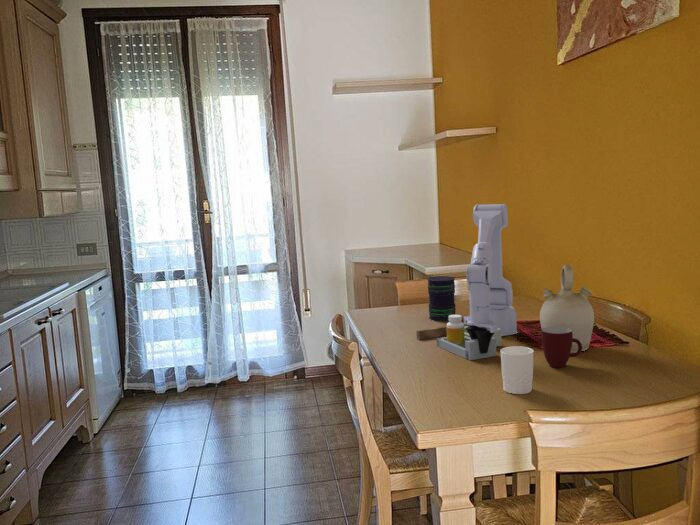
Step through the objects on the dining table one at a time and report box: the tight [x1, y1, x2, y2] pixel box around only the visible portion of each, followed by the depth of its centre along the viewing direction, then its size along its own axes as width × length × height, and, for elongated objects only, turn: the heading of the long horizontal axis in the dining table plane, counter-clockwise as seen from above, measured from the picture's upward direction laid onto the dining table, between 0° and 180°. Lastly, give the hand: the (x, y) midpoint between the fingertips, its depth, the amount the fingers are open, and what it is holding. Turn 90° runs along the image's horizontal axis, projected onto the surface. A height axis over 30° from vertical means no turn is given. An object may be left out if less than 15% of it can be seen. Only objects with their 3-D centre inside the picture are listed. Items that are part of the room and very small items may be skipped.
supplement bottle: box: [446, 314, 465, 348], centre depth 203 cm, size 5×5×10 cm
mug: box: [540, 327, 582, 369], centre depth 178 cm, size 10×8×10 cm
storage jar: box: [427, 275, 457, 322], centre depth 241 cm, size 10×10×15 cm
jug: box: [539, 264, 595, 354], centre depth 194 cm, size 15×16×25 cm
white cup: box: [499, 345, 535, 395], centre depth 161 cm, size 8×8×10 cm
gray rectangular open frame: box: [436, 336, 497, 361], centre depth 198 cm, size 9×19×5 cm, turn 23°
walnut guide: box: [416, 322, 470, 341], centre depth 208 cm, size 19×22×3 cm
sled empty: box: [464, 325, 502, 348], centre depth 209 cm, size 6×19×5 cm, turn 23°
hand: (480, 351), depth 191 cm, fingers closed on gray rectangular open frame, 2 cm apart
